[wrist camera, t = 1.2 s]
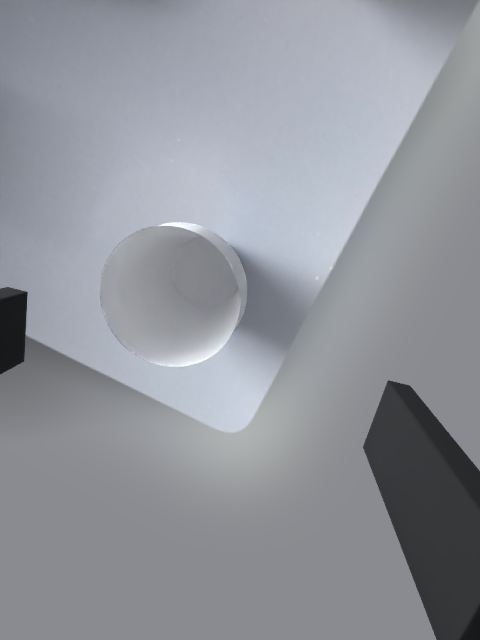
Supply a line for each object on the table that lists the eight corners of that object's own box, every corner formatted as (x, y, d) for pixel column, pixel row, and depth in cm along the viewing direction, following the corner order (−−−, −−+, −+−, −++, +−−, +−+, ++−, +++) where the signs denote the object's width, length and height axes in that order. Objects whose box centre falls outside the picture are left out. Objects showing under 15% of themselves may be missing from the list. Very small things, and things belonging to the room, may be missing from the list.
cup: (173, 326, 34) (121, 379, 23) (148, 234, 32) (77, 240, 21) (264, 310, 33) (256, 357, 22) (244, 212, 31) (224, 206, 19)
